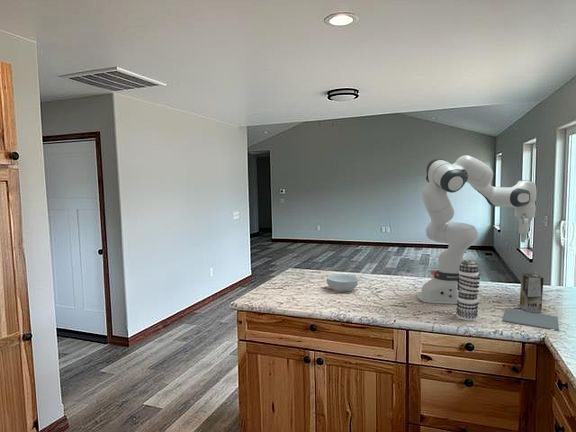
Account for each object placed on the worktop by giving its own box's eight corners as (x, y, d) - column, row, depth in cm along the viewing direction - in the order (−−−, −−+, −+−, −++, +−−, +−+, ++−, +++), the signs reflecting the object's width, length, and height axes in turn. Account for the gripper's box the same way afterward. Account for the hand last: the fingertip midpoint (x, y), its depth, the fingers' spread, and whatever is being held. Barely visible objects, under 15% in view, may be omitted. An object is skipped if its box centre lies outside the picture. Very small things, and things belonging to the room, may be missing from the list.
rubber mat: (558, 331, 157) (559, 329, 157) (501, 321, 168) (502, 320, 168) (557, 317, 173) (557, 316, 172) (505, 309, 183) (505, 308, 183)
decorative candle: (483, 320, 169) (485, 262, 167) (462, 321, 169) (464, 263, 166) (471, 313, 178) (473, 258, 176) (451, 313, 178) (453, 258, 175)
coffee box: (542, 313, 179) (544, 278, 177) (526, 312, 180) (528, 277, 179) (533, 306, 188) (535, 273, 186) (519, 306, 189) (520, 272, 188)
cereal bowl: (322, 292, 212) (322, 279, 211) (331, 284, 227) (331, 272, 227) (354, 296, 206) (354, 282, 205) (360, 287, 221) (360, 275, 220)
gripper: (531, 215, 185) (530, 244, 187) (533, 212, 202) (531, 238, 204) (516, 214, 189) (514, 243, 190) (518, 211, 206) (517, 237, 207)
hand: (523, 241), depth 197 cm, fingers open, 8 cm apart
